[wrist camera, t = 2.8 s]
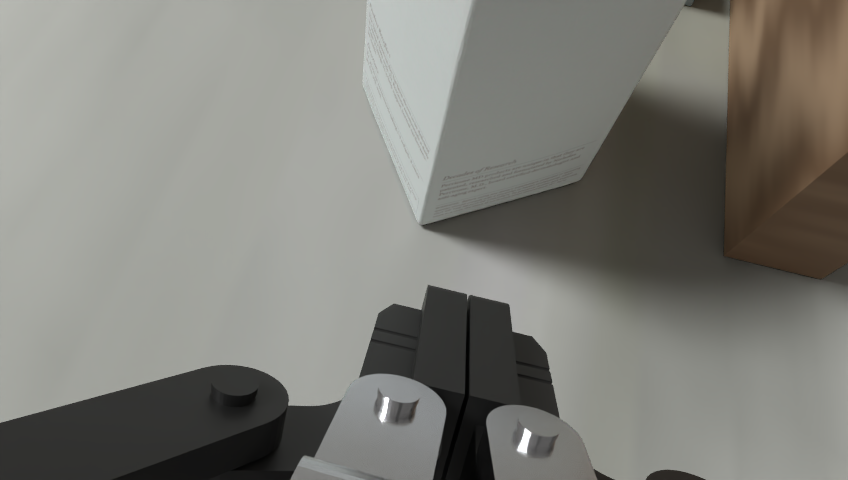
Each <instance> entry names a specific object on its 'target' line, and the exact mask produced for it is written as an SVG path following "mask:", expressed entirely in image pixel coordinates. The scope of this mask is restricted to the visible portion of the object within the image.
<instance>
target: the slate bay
mask: <svg viewBox="0 0 848 480" xmlns="http://www.w3.org/2000/svg"><path fill="white" fill-rule="evenodd" d="M693 2H694V0H687V1H686V2H685V4H684V5H688V6H691V5H692V3H693Z"/></svg>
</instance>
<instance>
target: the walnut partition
mask: <svg viewBox="0 0 848 480" xmlns="http://www.w3.org/2000/svg"><path fill="white" fill-rule="evenodd" d="M724 256H726V257H731V258H735V259H739V260H743V261H747V262H751V263H755V264H759V265H764V266H768V267H772V268H776V269H780V270H784V271H788V272H793V273H797V274H801V275H805V276H809V277H813V278H817V279H823V278H824V277H826V276H827V275H829V274H831V273H832V272H834V271H835V270H837V269H839V268H840V267H842V266H843V265H845V264H847V263H848V0H730V33H729V72H728V110H727V149H726V188H725V227H724Z"/></svg>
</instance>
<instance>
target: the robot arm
mask: <svg viewBox="0 0 848 480" xmlns="http://www.w3.org/2000/svg"><path fill="white" fill-rule="evenodd" d="M288 402H289V398H288V394H287V391H286V389H285V388H284V386H283V385H282V384H281V383H280V382H279V381H278V380H276V379H275V378H273V377H272V376H270V375H268V374H266V373H264V372H262V371H259V370H256V369H253V368H249V367H243V366H235V365H218V366H210V367H205V368H201V369H198V370H194V371H190V372H187V373H183V374H179V375H176V376H172V377H168V378H164V379H161V380H157V381H153V382H150V383H146V384H142V385H139V386H135V387H131V388H128V389H124V390H120V391H116V392H113V393H109V394H105V395H102V396H98V397H94V398H91V399H87V400H83V401H80V402H76V403H72V404H69V405H65V406H61V407H57V408H54V409H50V410H46V411H43V412H39V413H35V414H32V415H28V416H24V417H21V418H17V419H13V420H9V421H6V422H2V423H0V480H614V479H612V478H609V477H607V476H605V475H603V474H601V473H600V472H598V471H596V470H595V469H593V467H592V464H591V461H590V458H589V456H588V453H587V450H586V447H585V445H584V442H583V440H582V438H581V437H580V436H579V434H578V433H577V432H576V431H575V430H574V429H573V428H572V427H571V426H570V425H568V424H567V423H566V422H564V421H563V420H561V419H560V417H559V412H558V408H557V403H556V398H555V393H554V388H553V385H552V379H551V374H550V372H549V364H548V359H547V354H546V352H545V351H544V350H543V349H542V348H541V346H540V345H539V344H538V343H537V342H536V341H535V339H534V338H533V337H532V336H527V335H523V334H519V333H515V332H512V324H511V316H510V307H509V304H506V303H502V302H498V301H493V300H489V299H485V298H481V297H477V296H472V295H469V297H468V300H467V294H464V293H459V292H455V291H451V290H447V289H443V288H439V287H434V286H430V285H428V287H427V290H426V294H425V298H424V302H423V306H422V310H418V309H414V308H410V307H406V306H401V305H397V304H393V305H391V306H389V307H388V308H386V309H385V310H383V311H381V312H380V313H379V314H378V317H377V321H376V324H375V327H374V331H373V334H372V337H371V341H370V344H369V347H368V350H367V353H366V357H365V360H364V363H363V367H362V370H361V373H360V376H359V378H358V379H356V380H355V381H353V382H352V383H351V384H350V386H349V387H348V389H347V391H346V393H345V395H344V397H343V399H342V400H341V401H338V402H335V403H332V404H327V405H321V406H288ZM646 480H705V479H703V478H700V477H698V476H695V475H692V474H689V473H686V472H681V471H676V470H660V471H656V472H654V473H652V474H650V475H649V476H648V477H647V479H646Z"/></svg>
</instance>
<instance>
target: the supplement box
mask: <svg viewBox="0 0 848 480" xmlns="http://www.w3.org/2000/svg"><path fill="white" fill-rule="evenodd" d="M686 1H687V0H367V13H366V35H365V49H364V66H363V82H362V83H363V88H364V90H365V92H366V95H367V98H368V101H369V103H370V106H371V109H372V111H373V114H374V116H375V119H376V121H377V124H378V126H379V129H380V131H381V133H382V136H383V138H384V141H385V143H386V146H387V148H388V151H389V153H390V156H391V158H392V160H393V163H394V165H395V168H396V170H397V173H398V175H399V178H400V180H401V183H402V185H403V187H404V190H405V192H406V195H407V197H408V200H409V202H410V205H411V207H412V209H413V212H414V214H415V217H416V220H417V222H418V224H419V225H424V224H428V223H432V222H436V221H439V220H443V219H447V218H451V217H454V216H458V215H461V214H465V213H468V212H472V211H475V210H480V209H483V208H487V207H490V206H493V205H497V204H501V203H504V202H508V201H512V200H515V199H519V198H522V197H525V196H529V195H533V194H537V193H540V192H543V191H547V190H550V189H554V188H558V187H561V186H564V185H567V184H570V183H574V182H577V181H579V180H581V179H582V177H583V176H584V174H585V172H586V171H587V169H588V167H589V165H590V163H591V162H592V160H593V158H594V157H595V155H596V153H597V152H598V150H599V149H600V147H601V145H602V143H603V142H604V140H605V138H606V137H607V135H608V133H609V131H610V130H611V128H612V127H613V125H614V123H615V121H616V120H617V118H618V116H619V114H620V113H621V111H622V109H623V108H624V106H625V104H626V103H627V101H628V99H629V98H630V96H631V94H632V92H633V91H634V89H635V87H636V85H637V84H638V82H639V81H640V79H641V77H642V76H643V74H644V72H645V70H646V69H647V67H648V65H649V64H650V62H651V60H652V59H653V57H654V56H655V54H656V52H657V50H658V49H659V47H660V45H661V43H662V42H663V40H664V38H665V37H666V35H667V33H668V32H669V30H670V28H671V26H672V25H673V23H674V21H675V20H676V18H677V17H678V15H679V13H680V11H681V9H682V8H683V6H684V4H685V2H686Z"/></svg>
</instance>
